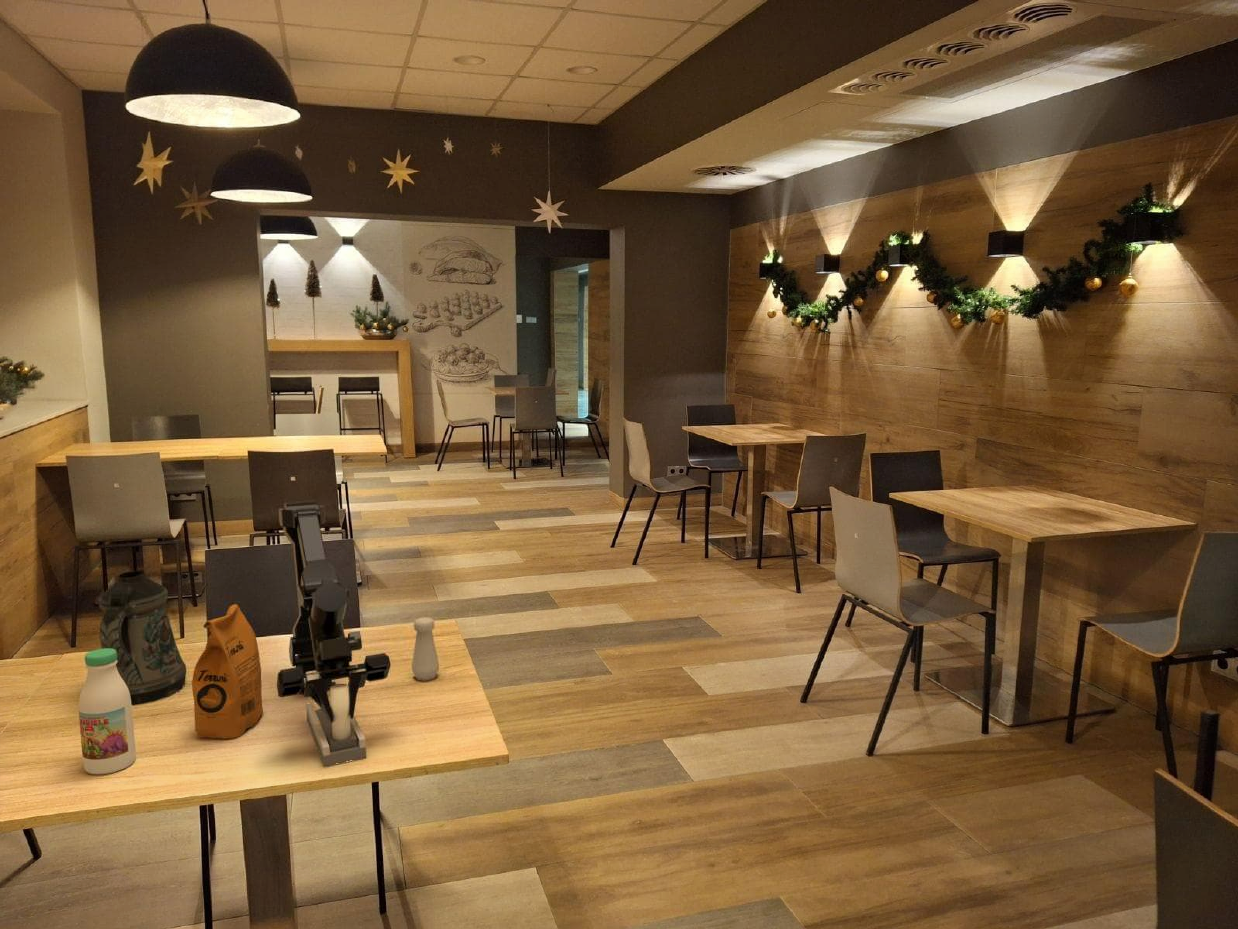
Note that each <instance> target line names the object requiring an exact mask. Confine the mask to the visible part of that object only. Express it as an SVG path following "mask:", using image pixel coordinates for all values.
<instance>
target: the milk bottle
mask: <svg viewBox="0 0 1238 929" xmlns="http://www.w3.org/2000/svg"><path fill="white" fill-rule="evenodd" d="M84 662H85V668H86V669H87V673H86V674H87V675H86V679H85V682H84V685H83V687H82V689H81V692H80V695H79V698H78V718H79V722H78V723H79V731H80V732H79V733H80V745H81V753H82V763H83V769H84V771H85V772H87V773H88V774H90V773H91V774H90V775H106V774H112V773H115V772H119V771H122V770H123V769H126V768H128V767H130V766H131V765H132V764H133V763H134V762H135V761H136V759H137V753H136V740H135V739H136V737H135V729H134V728H135V726H134V716H133V705H132V704H131V697H130V692H129V690H128V687H127V685H126V684H125V682H124V681H123V679H122V678H121V676H120V674H119V672H118V670H117V667H116V663H117V662H118V661H117V652H116V650H115V649H111V648H105V649H101V648H98V649H95V650H91V651H88V652H87V653H86V654H85V655H84Z"/></svg>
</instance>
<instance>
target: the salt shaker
mask: <svg viewBox="0 0 1238 929" xmlns="http://www.w3.org/2000/svg"><path fill="white" fill-rule="evenodd" d="M413 628H414V631H415V632H416V636H415V641H414V648H413V649H414V650H413V655H412V662H411V671H412V672H413V674H414V676H415V678H416V679H417V681H422V682H426V681H430V680H434V679H435V678H436V676H437V673H438V671H439V668H440V663H439V658H438V653H437V648H436V644H435V638H434V635H433V631H434V629H435V619H433V618H431V617H428V616H427V617H425V616H424V617H419V618H416V619H415V620H414V621H413Z"/></svg>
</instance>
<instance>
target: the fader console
mask: <svg viewBox="0 0 1238 929" xmlns="http://www.w3.org/2000/svg"><path fill="white" fill-rule="evenodd" d="M305 706H306V722H307V724H308V727H309V730H310V733H311V735H312V738H313V741H314V744H315V746H316V749H317V752H318V754H319V757H320V756H321V757H320V760H321V763H322V762H323V763H322V766H323V767H324V768H326V767H325V766H327V767H330V766H329V765H332V766H335V765H334V764H336V763H341V764H344V763H343V762H345V763H347V762H346V761H350V760H355V761H358V759H359V760H363V758H364V759H367V743H366V737H365V735H364V733H363V731H362V729H361V727H360V725H359V723H358V721H357V719H356V716H355V715H354V717H353V719H351V718H350V730H352V729H353V731H354V734H355V736H356V738H357V746H355V747H351V748H346V749H341V750H336V751H330V749H329V744H328V742H327V734H332V723H330V722H329V720H328V719H327V717H326V716H325V714H324V713H323V711H322V709H321V708H319V709H315V707H314V704H313V703H312V702H309V703H306V705H305ZM350 762H351V761H350ZM336 765H337V764H336Z"/></svg>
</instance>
